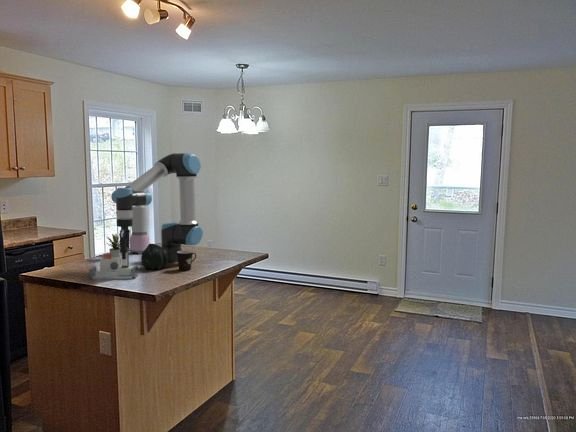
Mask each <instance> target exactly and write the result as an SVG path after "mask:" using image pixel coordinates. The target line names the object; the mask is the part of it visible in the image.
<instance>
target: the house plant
mask: <svg viewBox="0 0 576 432" xmlns="http://www.w3.org/2000/svg"><path fill="white" fill-rule="evenodd" d="M111 234H112V235H111V236H112V239H111V238H110V237H108V236H106V235H104V234H103V236H105V238H106V239H107V240H108V241H109V243H108V242H105V241H104V243H106V245H107V246H108V247H111V248H109V250H108V251H109V253H112V255H111V257H121V253H120V236H118V233H115V234H114V233H111Z"/></svg>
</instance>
